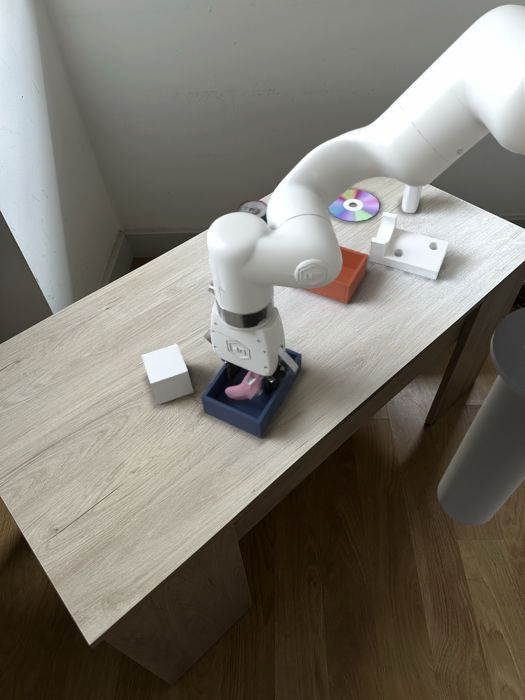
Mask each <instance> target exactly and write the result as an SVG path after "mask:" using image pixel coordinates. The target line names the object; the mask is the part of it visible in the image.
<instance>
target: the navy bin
mask: <svg viewBox="0 0 525 700" xmlns="http://www.w3.org/2000/svg"><path fill="white" fill-rule="evenodd" d="M285 352H286V353H287V354H288V355H289V356H290V357H291V358H292V359H293V361H294V362H295V363H296V364H297V365H298V366H299V368H298V370H297V372H296V373H295V374H294V375H290V376H287V375H286V376H285V377H284V378H280V379H279V385H278V387H277V389H276V390H272V392H271V393H270V395H269V396H267V395H265V392H264V379H265V377H266V376H264V378H263V379H262V381H263V383H262V385H261V388H260V390H261V389H262V393H261V394H260V395H259V396H257V395H258V394H256V395H254V396H253V398H252V399H246V400H234V399H231V398H229V397H228V396H227V395H226V393H225V390H226V389H227V388H228V387H232V386H237V385H240V384H241V383H242V382H243V380H244V378H245V376H246V375H247V373H248V372H249V370H247V369H245V368H243V367H242V368H241V369H240V371H239V372H238V374H237V375H236V377H235V378H234V379H233V380H230V379H229V378H228V372H227V368H226V363H224V364H223V366H221V368H220V369H219V371H218V372H217V373H216V375H215V377H214V378H213V379H212V380H211V382H210V383H209V385H208V386H207V387H206V389H205V390H204V392H203V393H202V395H201V396H200V400H201V404H202V407H203V411H204V414H207V415H208V416H211V417H213V418H215V419H218V420H219V421H222V422H224V423H225V424H228V425H231V426H232V427H235V428H237V429H240V430H241V431H243V432H245V433H248V434H250V435H252V436H254V437H257V438H258V439H262V438H263V436H264V435H265V433H266V431H267V430H268V428H269V426H270V425H271V423H272V421H273V419H274V418H275V416H276V415H277V413H278V411H279V409H280V408H281V406H282V404H283V403H284V401H285V400H286V397H287V396H288V395H289V393H290V391H291V389H292V388H293V386H294V384H295V383H296V381H297V379H298V378H299V377H300V374H301V373H302V365H303V364H302V363H303V361H302V359H303V357H302V356H303V354H302V353H300V352H298V351H294V350H292V349H289V348H287V347H285Z"/></svg>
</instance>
